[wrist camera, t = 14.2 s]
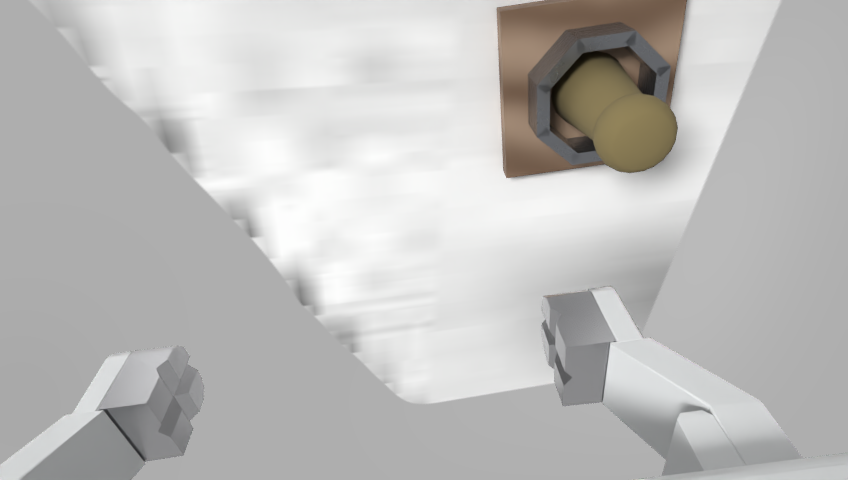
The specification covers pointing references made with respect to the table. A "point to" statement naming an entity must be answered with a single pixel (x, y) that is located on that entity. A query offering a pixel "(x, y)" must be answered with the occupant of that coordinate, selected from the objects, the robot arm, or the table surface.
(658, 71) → the metal collar
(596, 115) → the cork
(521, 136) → the walnut base
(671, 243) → the table surface
